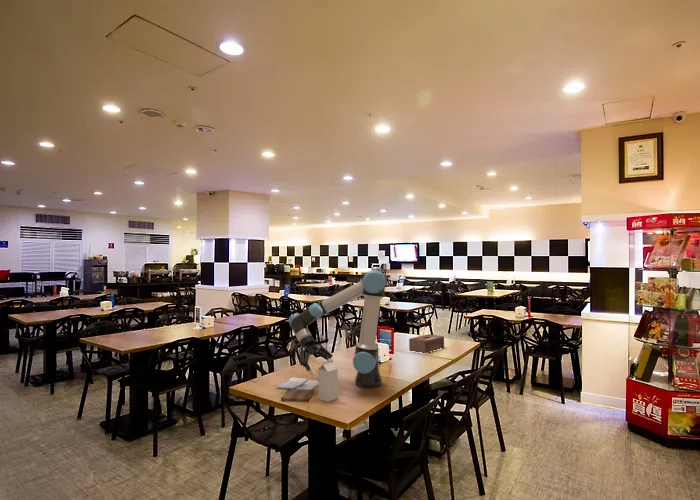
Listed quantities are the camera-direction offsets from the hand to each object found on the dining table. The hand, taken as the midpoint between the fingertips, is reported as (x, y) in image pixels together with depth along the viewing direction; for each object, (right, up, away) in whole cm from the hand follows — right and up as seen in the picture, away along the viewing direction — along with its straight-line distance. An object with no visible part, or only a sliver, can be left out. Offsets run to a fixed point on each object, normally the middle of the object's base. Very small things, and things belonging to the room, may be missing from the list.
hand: (323, 372), depth 201 cm
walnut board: (-13, -13, +2) cm, 19 cm away
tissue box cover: (+73, -16, +106) cm, 130 cm away
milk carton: (+2, -13, -2) cm, 13 cm away
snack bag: (-15, -14, +21) cm, 29 cm away
